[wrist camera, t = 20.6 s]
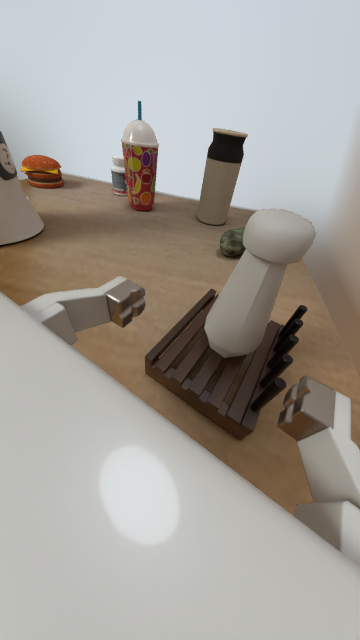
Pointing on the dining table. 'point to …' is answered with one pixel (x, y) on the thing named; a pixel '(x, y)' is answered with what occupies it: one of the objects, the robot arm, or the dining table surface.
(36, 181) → the hamburger
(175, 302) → the dining table surface
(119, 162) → the pill bottle
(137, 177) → the smoothie
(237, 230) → the vegetable
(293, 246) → the salt shaker
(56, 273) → the dining table surface
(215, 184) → the travel mug
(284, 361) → the drying rack
